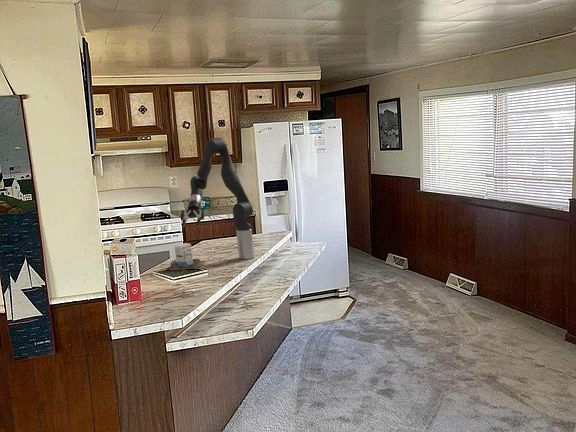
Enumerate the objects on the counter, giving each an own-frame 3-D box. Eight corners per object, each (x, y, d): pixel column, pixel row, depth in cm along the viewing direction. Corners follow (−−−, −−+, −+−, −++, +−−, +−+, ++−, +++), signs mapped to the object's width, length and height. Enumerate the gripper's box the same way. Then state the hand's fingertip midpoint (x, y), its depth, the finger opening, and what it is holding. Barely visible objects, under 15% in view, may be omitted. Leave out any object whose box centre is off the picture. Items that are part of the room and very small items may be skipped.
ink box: (182, 266, 299) (180, 246, 297) (176, 266, 302) (174, 245, 300) (193, 263, 306) (191, 243, 304) (187, 262, 309) (185, 242, 307)
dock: (205, 262, 311) (205, 256, 311) (196, 269, 294) (195, 263, 293) (176, 263, 314) (176, 257, 313) (165, 271, 296) (164, 264, 296)
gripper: (181, 200, 323) (177, 222, 313) (204, 199, 321) (200, 220, 311) (185, 207, 329) (181, 229, 319) (207, 206, 327) (204, 228, 317)
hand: (190, 225), depth 315 cm, fingers open, 8 cm apart
